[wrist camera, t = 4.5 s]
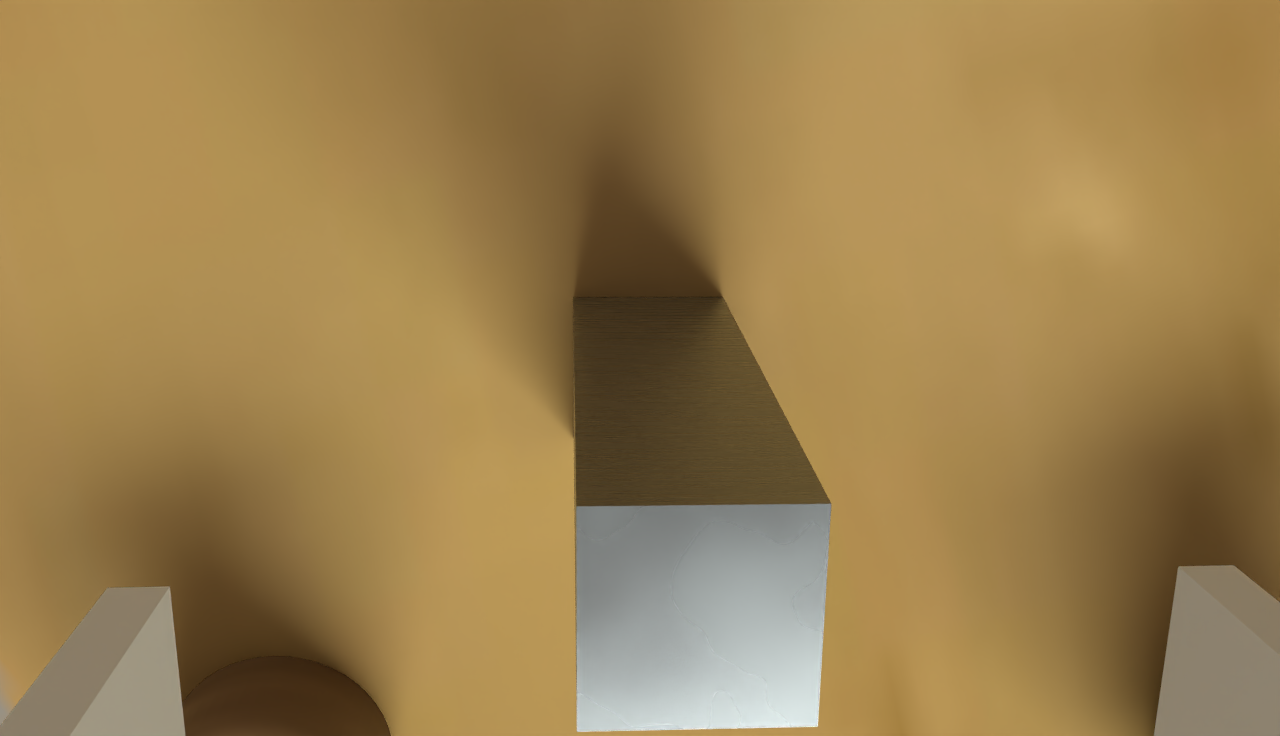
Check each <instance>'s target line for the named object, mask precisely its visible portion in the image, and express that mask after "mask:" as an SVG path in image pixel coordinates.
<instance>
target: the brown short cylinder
mask: <svg viewBox="0 0 1280 736" xmlns="http://www.w3.org/2000/svg"><path fill="white" fill-rule="evenodd" d="M182 708H183V718H184V727H185V736H391V735H390V731H389V728H388V725H387V723H386V721H385V718H384V716H383V714H382V713H381V711H380V710H379V708H378V706H377V705H376V703H375V702H374V701H373V700H372V699H371V697H370V696H369V695H368V694H367V693H366V692H365V691H364V690H363V689H362V688H361V687H360V686H359V685H358V684H356V683H355V682H354V681H352V680H351V679H349V678H348V677H347V676H345V675H343V674H342V673H340V672H338V671H336V670H334V669H332V668H330V667H328V666H325V665H323V664H320V663H317V662H314V661H310V660H306V659H301V658H295V657H286V656H268V657H257V658H252V659H247V660H243V661H240V662H237V663H234V664H231V665H229V666H227V667H224V668H222V669H220V670H218V671H216V672H215V673H213V674H212V675H210V676H209V677H207V678H206V679H204V680H203V681H202V682H201V683H200V684H199V685H197V686H196V687H195V688H194V689H193V691H192V692H191V693H190V694H189V695H188V696H187V697H186V699H185V700H184V702H183V704H182Z"/></svg>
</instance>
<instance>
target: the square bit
mask: <svg viewBox="0 0 1280 736" xmlns="http://www.w3.org/2000/svg"><path fill="white" fill-rule="evenodd" d="M573 375H574V509H575V600H576V691H577V732H586V731H633V730H680V729H727V728H775V727H818V713H819V696H820V680H821V664H822V647H823V631H824V614H825V598H826V581H827V565H828V549H829V532H830V516H831V502H830V500H829V499H828V497H827V495H826V493H825V491H824V489H823V487H822V485H821V483H820V481H819V479H818V478H817V476H816V474H815V472H814V470H813V468H812V466H811V464H810V462H809V460H808V458H807V457H806V455H805V453H804V451H803V449H802V447H801V445H800V443H799V441H798V439H797V438H796V436H795V434H794V432H793V430H792V428H791V426H790V424H789V422H788V420H787V418H786V417H785V415H784V413H783V411H782V409H781V407H780V405H779V403H778V401H777V399H776V397H775V396H774V394H773V392H772V390H771V388H770V386H769V384H768V382H767V380H766V378H765V376H764V375H763V373H762V371H761V369H760V367H759V365H758V363H757V361H756V359H755V357H754V356H753V354H752V352H751V350H750V348H749V346H748V344H747V342H746V340H745V338H744V336H743V335H742V333H741V331H740V329H739V327H738V325H737V323H736V321H735V319H734V317H733V315H732V314H731V312H730V310H729V308H728V306H727V304H726V302H725V300H724V298H723V297H573Z"/></svg>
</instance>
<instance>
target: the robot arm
mask: <svg viewBox="0 0 1280 736" xmlns="http://www.w3.org/2000/svg"><path fill="white" fill-rule="evenodd" d="M0 736H185V727H184V718H183V708H182V698H181V689H180V679H179V669H178V660H177V650H176V641H175V631H174V621H173V612H172V602H171V592H170V586H168V587H118V588H107V589H106V590H105V591H104V593H103V594H102V595H101V597H100V598H99V599H98V600H97V602H96V603H95V604H94V606H93V607H92V608H91V609H90V611H89V612H88V613H87V615H86V616H85V617H84V618H83V620H82V621H81V622H80V624H79V625H78V626H77V627H76V629H75V630H74V631H73V633H72V634H71V635H70V636H69V638H68V639H67V640H66V642H65V643H64V644H63V645H62V647H61V648H60V649H59V651H58V652H57V653H56V654H55V656H54V657H53V658H52V660H51V661H50V662H49V663H48V665H47V666H46V667H45V669H44V670H43V671H42V672H41V674H40V675H39V676H38V678H37V679H36V680H35V681H34V683H33V684H32V685H31V687H30V688H29V689H28V690H27V692H26V693H25V694H24V696H23V697H22V698H21V699H20V701H19V702H18V703H17V705H16V706H15V707H14V709H13V710H12V711H11V712H10V714H9V715H8V716H7V718H6V719H5V720H4V721H3V723H2V724H1V725H0ZM1154 736H1280V602H1279V601H1277V600H1276V599H1275V598H1274V597H1273V596H1271V595H1270V594H1269V593H1268V592H1266V591H1265V590H1264V589H1263V588H1261V587H1260V586H1259V585H1258V584H1256V583H1255V582H1254V581H1253V580H1251V579H1250V578H1249V577H1248V576H1246V575H1245V574H1244V573H1243V572H1242V571H1240V570H1239V569H1238V568H1237V567H1235V566H1234V565H1220V566H1178V572H1177V579H1176V586H1175V593H1174V600H1173V607H1172V614H1171V621H1170V628H1169V634H1168V641H1167V648H1166V655H1165V662H1164V669H1163V676H1162V683H1161V690H1160V697H1159V703H1158V710H1157V717H1156V724H1155V731H1154Z"/></svg>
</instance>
